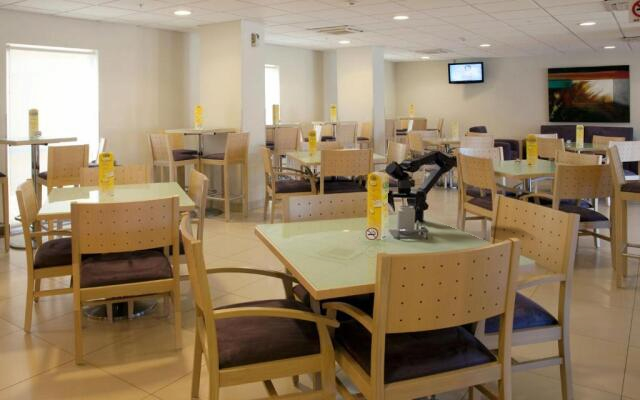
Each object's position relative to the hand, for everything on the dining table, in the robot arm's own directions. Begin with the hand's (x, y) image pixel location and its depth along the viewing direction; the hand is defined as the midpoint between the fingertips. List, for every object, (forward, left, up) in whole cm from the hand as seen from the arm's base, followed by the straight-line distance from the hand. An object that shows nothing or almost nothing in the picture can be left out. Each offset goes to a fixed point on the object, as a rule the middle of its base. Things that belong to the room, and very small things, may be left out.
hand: (404, 211), depth 249 cm
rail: (+7, +1, -9) cm, 11 cm away
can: (+8, -1, -8) cm, 11 cm away
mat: (+8, -1, -9) cm, 12 cm away
